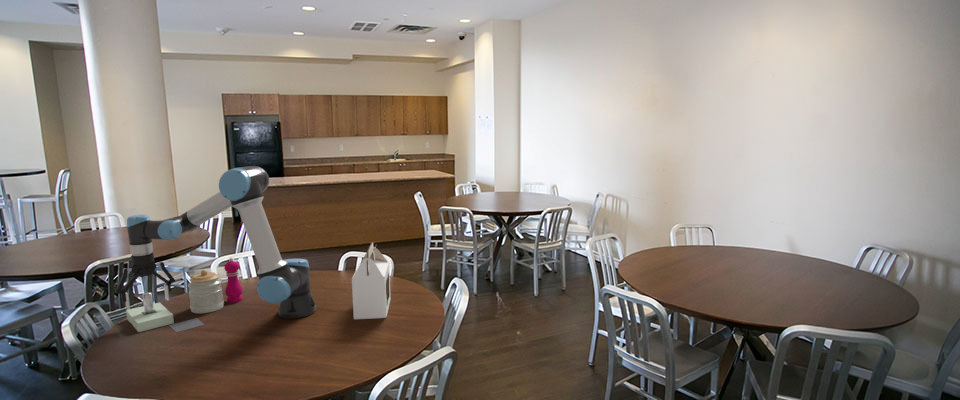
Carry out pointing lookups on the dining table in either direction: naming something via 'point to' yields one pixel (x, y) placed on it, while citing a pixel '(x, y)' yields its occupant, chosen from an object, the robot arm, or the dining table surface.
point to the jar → (205, 292)
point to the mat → (186, 325)
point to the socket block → (149, 317)
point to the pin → (148, 303)
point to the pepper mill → (233, 282)
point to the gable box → (371, 286)
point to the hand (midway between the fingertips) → (148, 304)
